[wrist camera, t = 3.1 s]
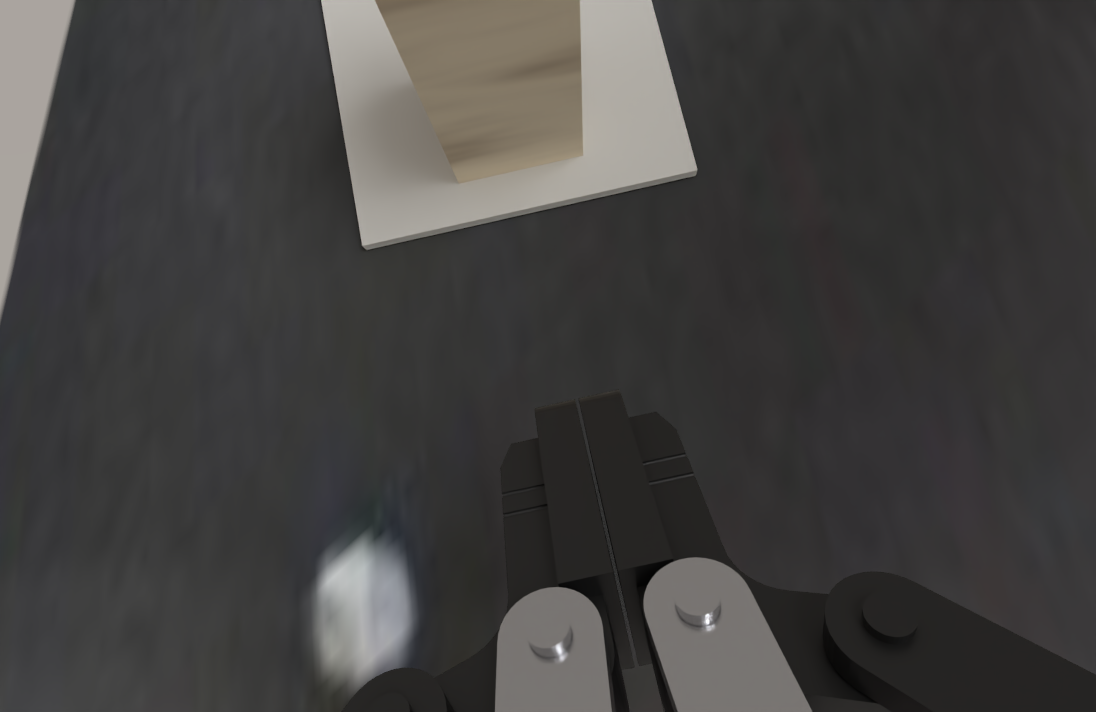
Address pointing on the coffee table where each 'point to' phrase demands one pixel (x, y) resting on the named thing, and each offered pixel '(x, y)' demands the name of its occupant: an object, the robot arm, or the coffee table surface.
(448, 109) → the maple block
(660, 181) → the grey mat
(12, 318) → the coffee table surface
